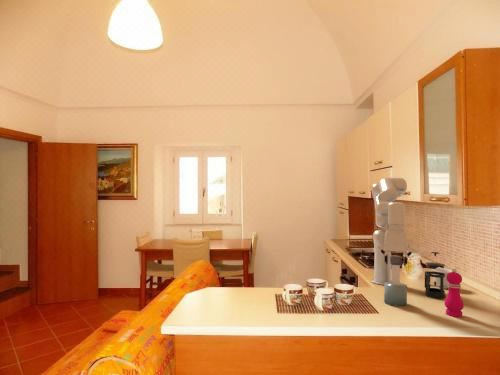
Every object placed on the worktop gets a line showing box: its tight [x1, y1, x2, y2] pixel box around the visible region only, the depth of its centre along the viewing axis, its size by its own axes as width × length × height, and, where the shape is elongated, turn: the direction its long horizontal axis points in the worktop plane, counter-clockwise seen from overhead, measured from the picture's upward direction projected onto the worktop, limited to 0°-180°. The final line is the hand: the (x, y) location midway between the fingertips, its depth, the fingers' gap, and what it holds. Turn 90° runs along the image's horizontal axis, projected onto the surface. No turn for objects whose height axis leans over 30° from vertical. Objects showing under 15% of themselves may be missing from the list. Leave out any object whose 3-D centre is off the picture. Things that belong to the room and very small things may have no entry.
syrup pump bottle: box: [383, 264, 408, 307], centre depth 165 cm, size 10×10×18 cm
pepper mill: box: [444, 268, 465, 318], centre depth 150 cm, size 7×7×20 cm
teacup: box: [430, 267, 452, 290], centre depth 200 cm, size 12×15×10 cm
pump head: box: [390, 254, 402, 266], centre depth 167 cm, size 8×5×12 cm, turn 157°
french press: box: [424, 251, 446, 300], centre depth 180 cm, size 12×9×23 cm
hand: (395, 264), depth 166 cm, fingers open, 7 cm apart
